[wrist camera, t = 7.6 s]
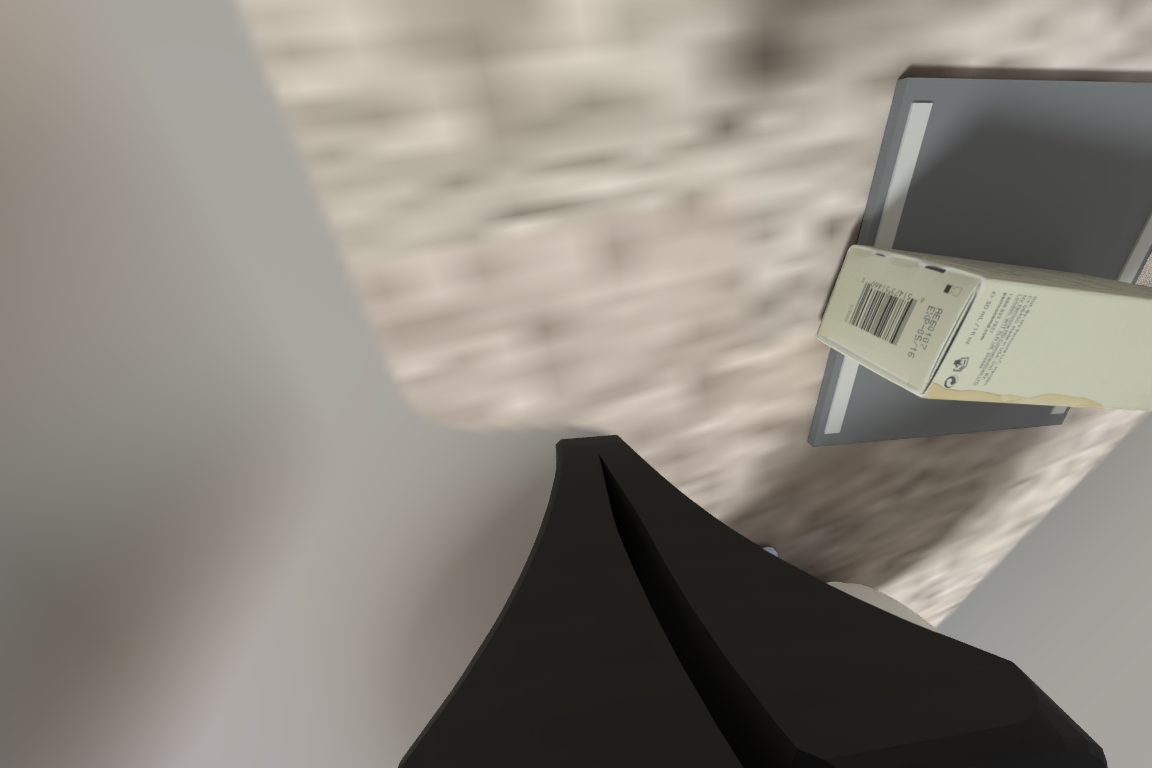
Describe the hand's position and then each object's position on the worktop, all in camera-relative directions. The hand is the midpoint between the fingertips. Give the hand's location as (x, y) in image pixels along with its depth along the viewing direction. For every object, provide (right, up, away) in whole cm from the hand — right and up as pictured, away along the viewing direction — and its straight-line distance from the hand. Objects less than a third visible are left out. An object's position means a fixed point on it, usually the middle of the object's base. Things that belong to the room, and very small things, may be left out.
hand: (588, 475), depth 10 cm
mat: (+19, +7, +12) cm, 23 cm away
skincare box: (+11, +5, +7) cm, 14 cm away
